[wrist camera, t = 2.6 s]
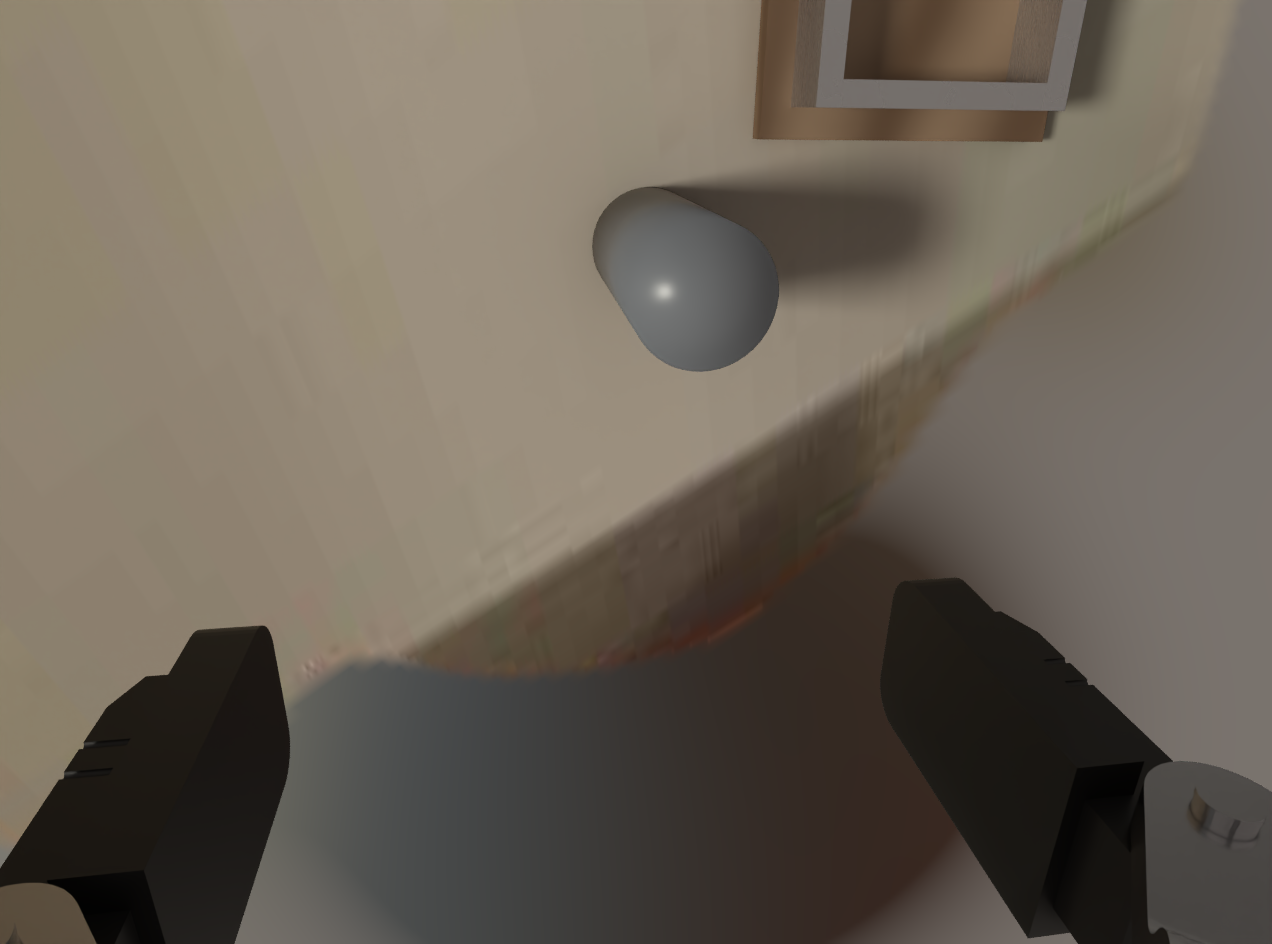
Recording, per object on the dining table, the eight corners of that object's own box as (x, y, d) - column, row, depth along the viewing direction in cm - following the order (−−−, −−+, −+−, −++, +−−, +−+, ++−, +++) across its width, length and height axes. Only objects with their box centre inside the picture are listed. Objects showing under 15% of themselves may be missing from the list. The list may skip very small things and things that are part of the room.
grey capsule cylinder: (592, 303, 38) (628, 373, 28) (592, 187, 36) (629, 218, 26) (700, 301, 38) (772, 369, 28) (705, 187, 36) (785, 217, 26)
